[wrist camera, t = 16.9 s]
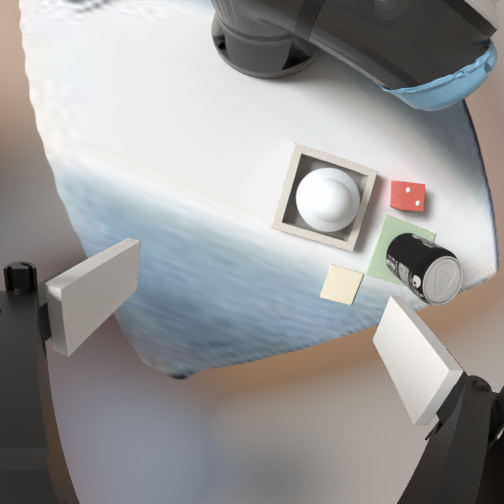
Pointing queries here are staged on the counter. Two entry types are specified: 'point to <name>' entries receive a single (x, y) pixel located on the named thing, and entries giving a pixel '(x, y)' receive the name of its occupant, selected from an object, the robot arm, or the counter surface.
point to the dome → (327, 199)
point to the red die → (407, 196)
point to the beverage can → (425, 268)
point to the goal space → (388, 233)
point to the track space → (341, 284)
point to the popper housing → (298, 168)
